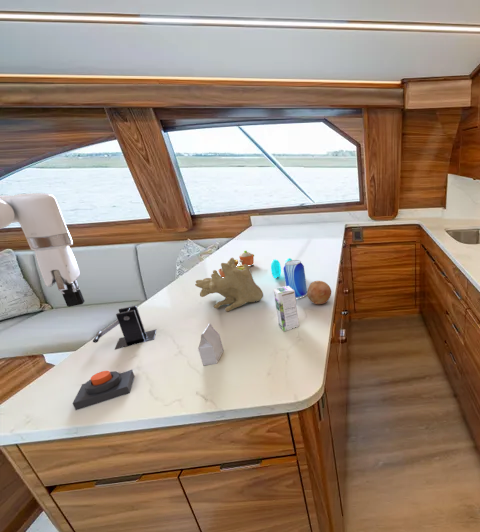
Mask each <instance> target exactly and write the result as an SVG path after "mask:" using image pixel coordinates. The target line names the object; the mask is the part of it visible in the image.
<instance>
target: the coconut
mask: <svg viewBox="0 0 480 532" xmlns="http://www.w3.org/2000/svg"><path fill="white" fill-rule="evenodd" d="M306 295H307V298H308V300H309V301H310V302H311V303H313V304H315V305H323V304H326V303H327V302H328V301H329V300H330V298H331V296H332V289H331V287H330V285H329V284H328V283H327V282H325V281H323V280H314V281H312V282H311V283H310V284H309V286H308V288H307V294H306Z"/></svg>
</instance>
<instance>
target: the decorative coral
mask: <svg viewBox="0 0 480 532" xmlns="http://www.w3.org/2000/svg"><path fill="white" fill-rule="evenodd" d="M234 259H235V258H234V257H230V259H229V260H228V261H229V262H228V261H227V262H228V263H227V262H221V263H220V266H221V269H222V270H223V272H224V274H225V277H224V278H222V277H221V276H220V273H219V272H218V271H217V270H216V269H213V270H212V273H211V275H210V277H205V278H203V279H196V280H195V287H197V288H199V289H201V290H200V292H199V297H201V298H204V297H207V296H208V295H210V294H219V295H221V296H222V297H224V299H223V300H219V301H217V302H216V304H214V305H213V309H219V308H220V307H221V306H226V307H225V308H224V311H225V312H227V313H228V312H231V311H232V310H233V309H236V308H240V307H241V306H243V305H245V304H247V303H256V302H260V301H261V300H262V299H263V298H264V292H263V290H262V289H261V287H260V286H259V285H257V283H256V282H255V280H254V277H253V274H252V272H251V267H250V266H247V264H244V267H245V269H244V270H239V269H238V268H237V267H236V265H235V261H234ZM226 263H227V264H226ZM255 301H256V302H255Z"/></svg>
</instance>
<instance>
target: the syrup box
mask: <svg viewBox="0 0 480 532" xmlns="http://www.w3.org/2000/svg"><path fill="white" fill-rule="evenodd" d="M272 291H273V297H274V302H275V303H274V304H275V311H276V317H277V322H278V327H279V328H280V329H281V330H282V331H283V332H287V331H290V330H293V329H295V327H296V328H298V327H300V321H299V314H298V307H297V299H296V298H295V291H294V290H293V289H292V288H291V287H290V286H286V285H285V286H284V285H283V286H280V287H276V288H274V289H272ZM292 328H293V329H292ZM289 329H290V330H289ZM286 330H287V331H286Z"/></svg>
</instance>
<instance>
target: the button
mask: <svg viewBox="0 0 480 532" xmlns="http://www.w3.org/2000/svg"><path fill="white" fill-rule="evenodd" d="M110 372H111V371H110V370H102V371H99V372H97V373H95V374H93V375H92V376H91V377H90V379H91V381H92V384H93V385H99V384H103V383H105V382H107V381H109V380H110V379H112V376H111V373H110Z"/></svg>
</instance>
